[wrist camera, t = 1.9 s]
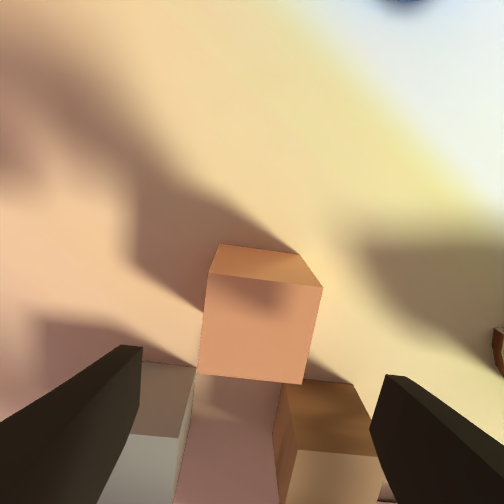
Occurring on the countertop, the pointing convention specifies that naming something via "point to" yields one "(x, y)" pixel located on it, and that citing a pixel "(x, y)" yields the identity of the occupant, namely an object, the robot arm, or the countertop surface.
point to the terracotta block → (258, 315)
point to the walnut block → (324, 446)
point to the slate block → (154, 438)
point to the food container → (498, 348)
